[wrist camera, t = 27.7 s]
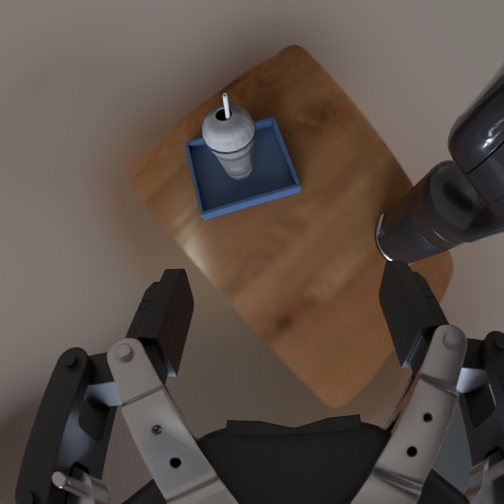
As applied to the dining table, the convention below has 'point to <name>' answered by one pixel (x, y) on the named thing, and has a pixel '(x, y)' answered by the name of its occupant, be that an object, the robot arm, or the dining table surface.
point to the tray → (250, 189)
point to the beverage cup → (231, 138)
